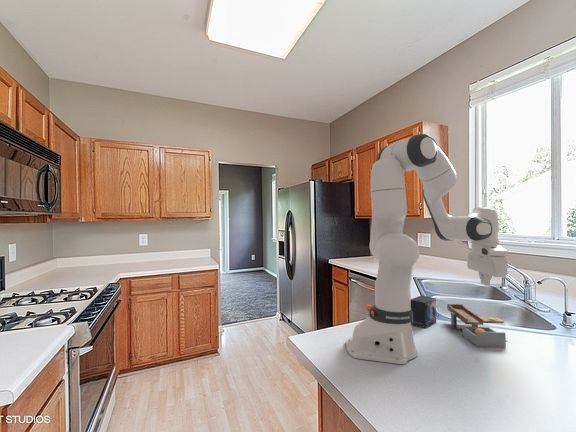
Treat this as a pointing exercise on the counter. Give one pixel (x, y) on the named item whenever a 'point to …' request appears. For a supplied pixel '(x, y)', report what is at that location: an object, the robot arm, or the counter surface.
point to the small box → (423, 311)
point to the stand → (454, 323)
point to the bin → (484, 337)
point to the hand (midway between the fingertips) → (485, 284)
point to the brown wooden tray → (471, 315)
